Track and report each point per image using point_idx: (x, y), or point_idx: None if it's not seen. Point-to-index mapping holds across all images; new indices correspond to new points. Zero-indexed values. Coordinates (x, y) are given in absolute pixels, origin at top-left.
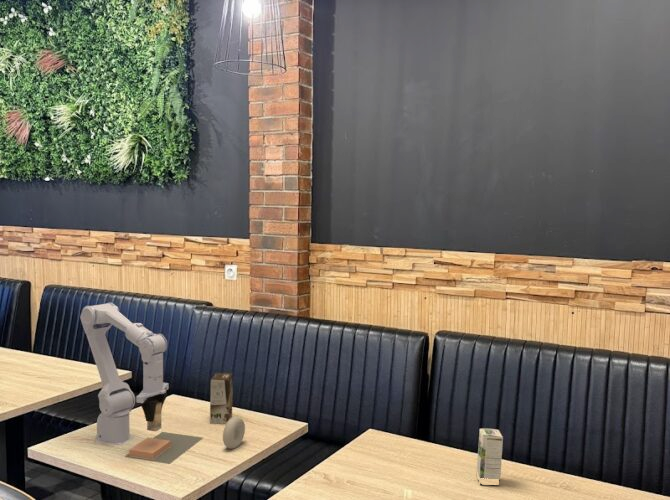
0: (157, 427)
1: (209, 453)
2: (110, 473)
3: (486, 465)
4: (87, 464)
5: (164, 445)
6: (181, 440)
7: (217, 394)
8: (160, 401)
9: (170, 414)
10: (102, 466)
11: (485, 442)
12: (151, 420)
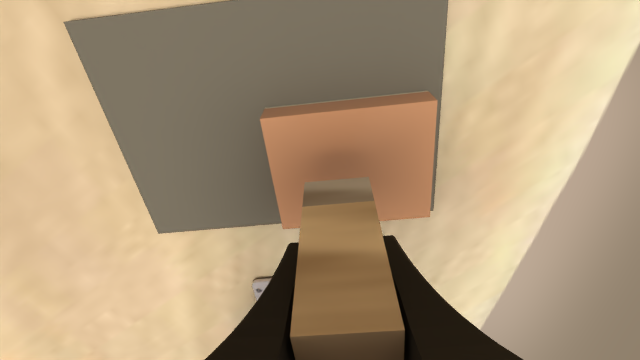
0: (352, 189)
1: None
2: (572, 169)
3: None
4: (507, 271)
5: (321, 111)
6: (173, 108)
7: None
8: (284, 354)
9: (11, 301)
10: (514, 227)
11: None
12: (398, 244)
